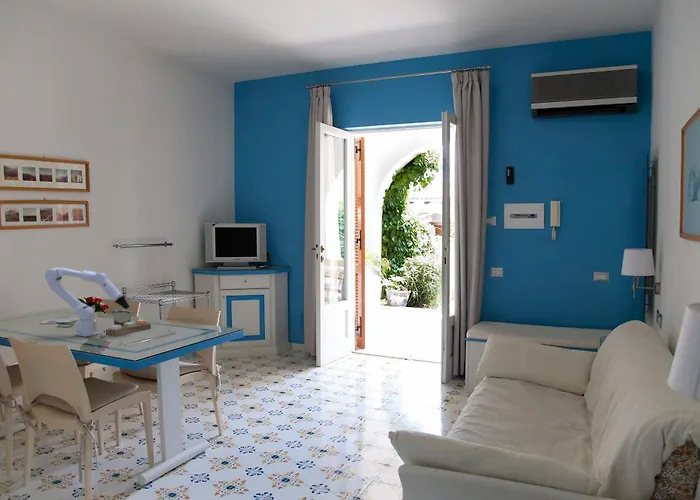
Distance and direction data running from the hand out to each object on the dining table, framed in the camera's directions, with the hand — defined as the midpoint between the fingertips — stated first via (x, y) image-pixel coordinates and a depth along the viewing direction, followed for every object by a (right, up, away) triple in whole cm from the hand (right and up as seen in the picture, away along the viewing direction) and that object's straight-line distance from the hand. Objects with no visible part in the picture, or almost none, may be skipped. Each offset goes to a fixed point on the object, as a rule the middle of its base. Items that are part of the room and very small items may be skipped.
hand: (127, 308), depth 327 cm
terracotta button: (+3, -12, +14) cm, 19 cm away
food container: (-12, -14, +25) cm, 31 cm away
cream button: (-6, -13, 0) cm, 15 cm away
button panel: (-2, -14, +7) cm, 16 cm away
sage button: (-2, -13, +7) cm, 15 cm away
